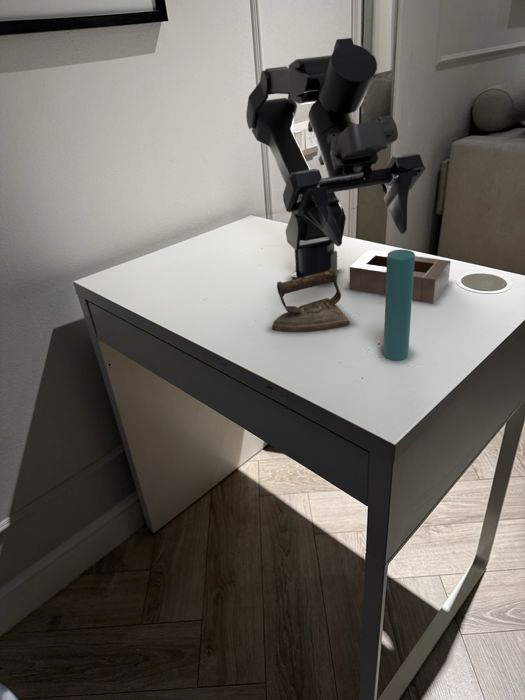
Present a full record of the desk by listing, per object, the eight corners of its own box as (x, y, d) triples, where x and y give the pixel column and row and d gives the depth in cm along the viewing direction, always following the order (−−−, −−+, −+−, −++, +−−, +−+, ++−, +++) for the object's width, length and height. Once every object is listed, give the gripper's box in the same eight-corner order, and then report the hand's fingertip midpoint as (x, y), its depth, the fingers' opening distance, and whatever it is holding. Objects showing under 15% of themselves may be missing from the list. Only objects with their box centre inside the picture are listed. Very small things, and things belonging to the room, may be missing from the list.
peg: (379, 357, 68) (383, 257, 61) (388, 345, 71) (393, 248, 63) (403, 362, 67) (409, 260, 59) (411, 350, 69) (418, 251, 62)
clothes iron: (355, 326, 77) (342, 271, 70) (285, 357, 76) (266, 304, 70) (335, 303, 82) (322, 250, 76) (271, 331, 82) (252, 280, 75)
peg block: (349, 289, 87) (349, 266, 85) (368, 271, 92) (368, 249, 90) (433, 303, 80) (435, 279, 78) (448, 283, 85) (450, 260, 83)
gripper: (283, 104, 62) (321, 219, 58) (423, 85, 65) (466, 193, 62) (269, 161, 72) (300, 261, 69) (390, 142, 76) (425, 237, 73)
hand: (372, 238), depth 68 cm, fingers open, 9 cm apart
